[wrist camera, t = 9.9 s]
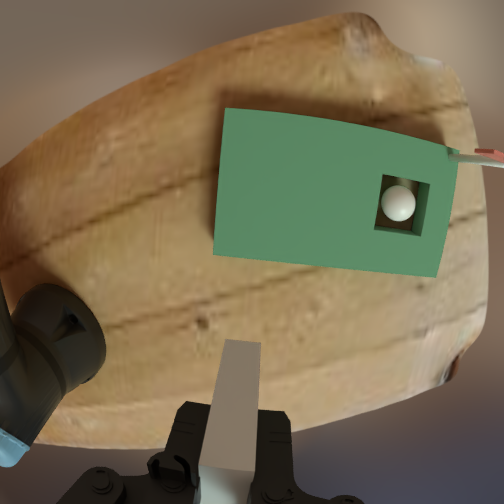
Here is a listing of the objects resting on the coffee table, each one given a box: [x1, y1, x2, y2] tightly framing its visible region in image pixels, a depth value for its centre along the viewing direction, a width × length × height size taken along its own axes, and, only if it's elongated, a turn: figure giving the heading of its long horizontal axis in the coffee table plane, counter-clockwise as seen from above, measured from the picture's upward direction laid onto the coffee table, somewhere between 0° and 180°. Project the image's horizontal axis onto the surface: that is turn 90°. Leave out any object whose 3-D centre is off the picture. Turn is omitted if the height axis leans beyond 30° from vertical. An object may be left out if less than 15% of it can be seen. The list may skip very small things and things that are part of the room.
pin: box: [448, 149, 504, 168], centre depth 21 cm, size 4×1×12 cm, turn 84°
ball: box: [381, 185, 415, 221], centre depth 29 cm, size 4×4×4 cm
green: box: [213, 108, 460, 278], centre depth 30 cm, size 24×14×2 cm, turn 84°
